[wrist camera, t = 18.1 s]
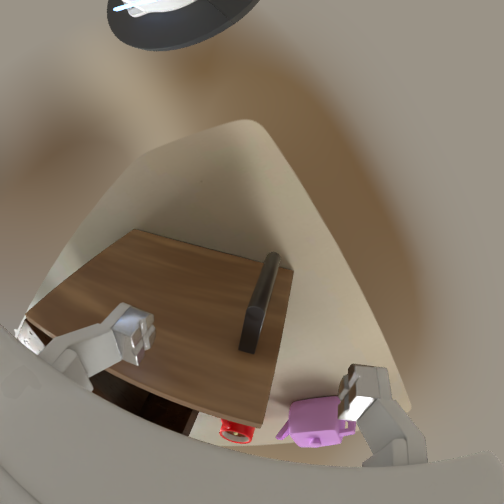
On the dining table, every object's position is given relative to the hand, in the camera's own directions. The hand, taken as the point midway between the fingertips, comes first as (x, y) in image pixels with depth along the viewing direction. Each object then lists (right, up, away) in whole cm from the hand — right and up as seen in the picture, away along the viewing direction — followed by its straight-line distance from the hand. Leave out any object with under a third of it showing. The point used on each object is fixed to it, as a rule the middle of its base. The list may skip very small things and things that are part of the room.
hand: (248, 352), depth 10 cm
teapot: (+15, -32, +43) cm, 56 cm away
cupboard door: (-6, +7, +29) cm, 30 cm away
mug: (-3, -35, +49) cm, 60 cm away
